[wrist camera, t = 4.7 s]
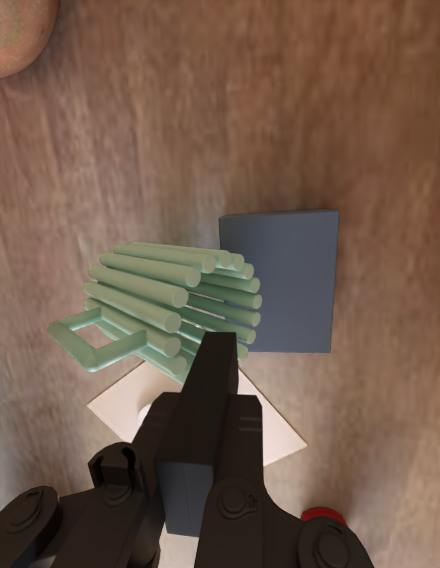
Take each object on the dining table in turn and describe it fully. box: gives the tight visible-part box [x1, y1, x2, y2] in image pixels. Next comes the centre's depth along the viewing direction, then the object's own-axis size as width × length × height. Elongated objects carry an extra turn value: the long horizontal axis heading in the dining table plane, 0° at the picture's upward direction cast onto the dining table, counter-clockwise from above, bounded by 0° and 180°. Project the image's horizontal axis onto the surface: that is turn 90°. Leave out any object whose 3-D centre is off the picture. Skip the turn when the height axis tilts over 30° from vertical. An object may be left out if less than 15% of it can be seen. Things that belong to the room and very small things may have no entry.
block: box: [219, 209, 340, 353], centre depth 24 cm, size 9×12×4 cm
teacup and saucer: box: [135, 402, 152, 429], centre depth 31 cm, size 9×8×4 cm
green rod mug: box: [47, 242, 262, 385], centre depth 20 cm, size 14×9×15 cm, turn 94°
